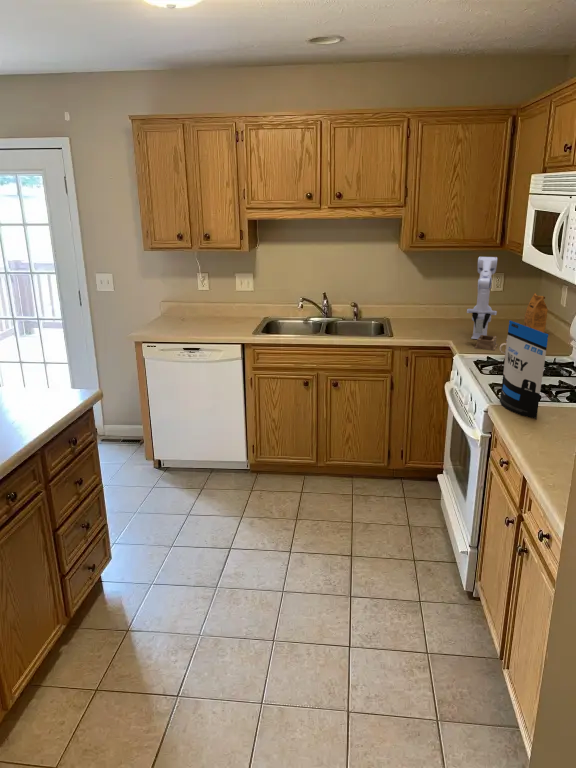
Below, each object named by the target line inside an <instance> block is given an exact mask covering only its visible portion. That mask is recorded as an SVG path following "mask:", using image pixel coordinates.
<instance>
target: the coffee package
mask: <svg viewBox="0 0 576 768" xmlns="http://www.w3.org/2000/svg"><path fill="white" fill-rule="evenodd" d="M545 299H546V296H544V295H537V293H534V294H533V295H532V297H531V298H530V301H529V303H528V305H527V307H526V311H525V314H524V320H523V325H524V326H527V327H529V328H532V329H535V330H538V331H540V332H543V333H545V332H546V325H547V320H548V319H547V317H548V311H549V309H548V307H547V303H546V302H545Z"/></svg>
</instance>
